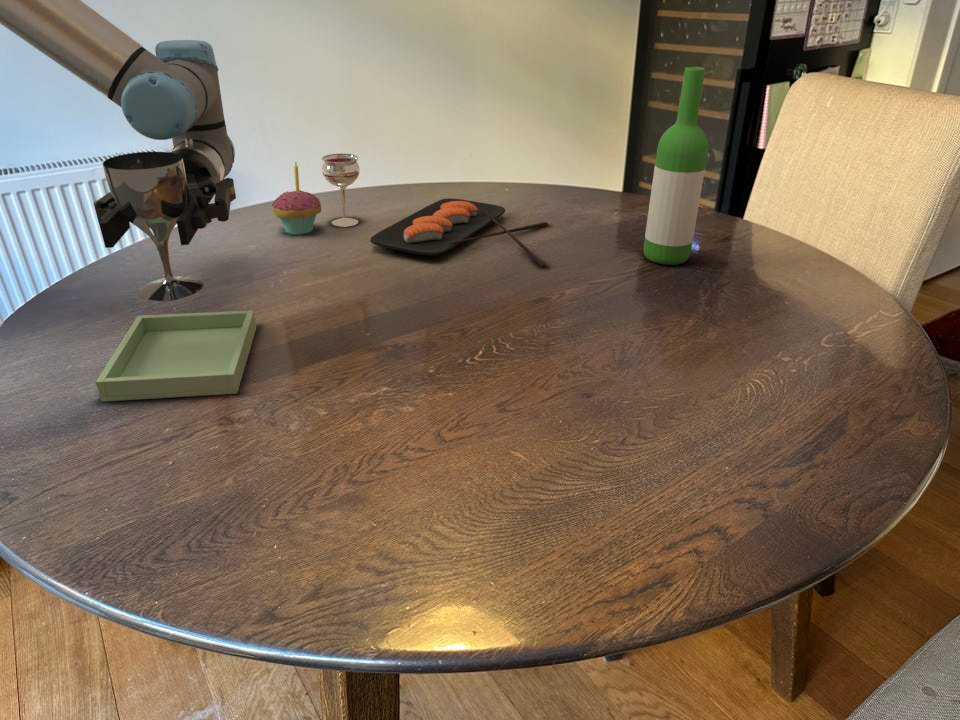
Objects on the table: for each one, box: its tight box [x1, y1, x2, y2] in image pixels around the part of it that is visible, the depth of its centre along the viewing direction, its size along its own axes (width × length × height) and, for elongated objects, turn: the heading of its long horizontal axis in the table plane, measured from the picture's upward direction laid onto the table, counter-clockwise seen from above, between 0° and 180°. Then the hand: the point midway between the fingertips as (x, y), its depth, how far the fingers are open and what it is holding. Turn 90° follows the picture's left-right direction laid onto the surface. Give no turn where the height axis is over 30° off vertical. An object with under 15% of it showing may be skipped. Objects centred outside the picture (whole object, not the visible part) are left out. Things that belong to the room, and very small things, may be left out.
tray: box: [95, 310, 257, 403], centre depth 85 cm, size 15×17×3 cm
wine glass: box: [102, 151, 204, 302], centre depth 79 cm, size 8×8×15 cm
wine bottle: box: [643, 66, 709, 266], centre depth 111 cm, size 8×8×30 cm
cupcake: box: [271, 161, 322, 236], centre depth 125 cm, size 9×8×12 cm
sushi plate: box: [369, 198, 548, 268], centre depth 124 cm, size 29×30×4 cm
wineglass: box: [320, 152, 361, 228], centre depth 129 cm, size 7×7×12 cm
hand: (144, 234), depth 74 cm, fingers closed on wine glass, 7 cm apart
